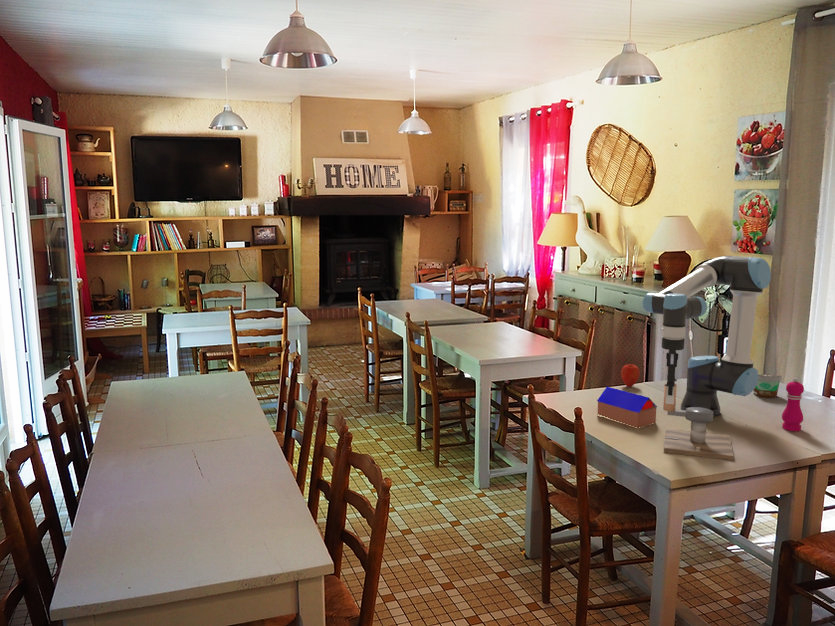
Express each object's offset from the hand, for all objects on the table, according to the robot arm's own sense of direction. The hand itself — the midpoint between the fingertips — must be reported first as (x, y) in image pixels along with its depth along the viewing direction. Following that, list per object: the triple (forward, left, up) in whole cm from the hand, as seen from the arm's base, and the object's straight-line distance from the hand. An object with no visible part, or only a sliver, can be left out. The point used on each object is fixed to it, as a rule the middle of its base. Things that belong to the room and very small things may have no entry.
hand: (669, 401), depth 244 cm
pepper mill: (-32, +44, -15) cm, 57 cm away
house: (-22, -16, -16) cm, 31 cm away
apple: (-74, -18, -15) cm, 78 cm away
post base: (0, +10, -15) cm, 18 cm away
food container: (-77, +40, -16) cm, 88 cm away
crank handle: (0, +6, -5) cm, 8 cm away
